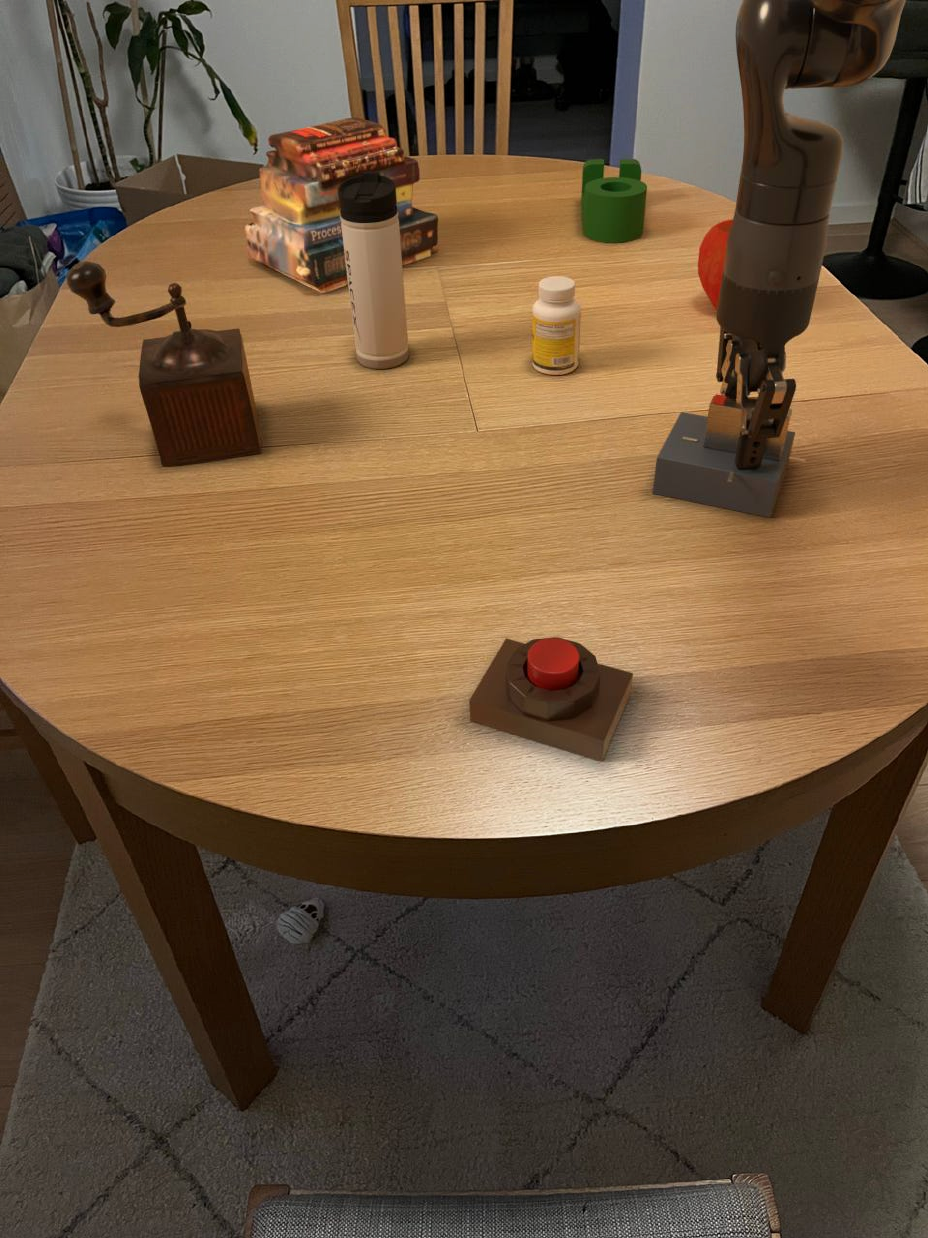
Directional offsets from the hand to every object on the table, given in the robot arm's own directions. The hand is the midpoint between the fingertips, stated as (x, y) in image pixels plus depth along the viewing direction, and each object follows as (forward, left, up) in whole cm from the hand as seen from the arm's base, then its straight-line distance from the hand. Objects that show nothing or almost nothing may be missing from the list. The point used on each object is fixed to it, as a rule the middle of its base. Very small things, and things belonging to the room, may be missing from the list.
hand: (738, 449), depth 86 cm
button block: (+6, +33, -4) cm, 34 cm away
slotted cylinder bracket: (+32, -66, -4) cm, 73 cm away
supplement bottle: (+24, -18, -4) cm, 30 cm away
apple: (+9, -40, -4) cm, 41 cm away
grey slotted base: (+1, -1, -4) cm, 4 cm away
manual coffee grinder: (+55, +11, -4) cm, 56 cm away
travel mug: (+44, -13, -4) cm, 46 cm away
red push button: (+6, +33, -1) cm, 34 cm away
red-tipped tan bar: (0, 0, 0) cm, 0 cm away
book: (+64, -39, -4) cm, 75 cm away
